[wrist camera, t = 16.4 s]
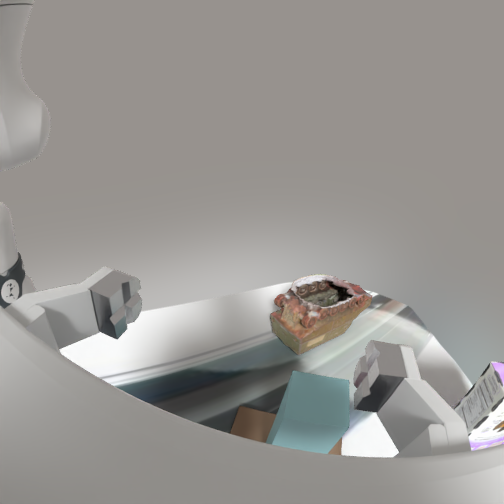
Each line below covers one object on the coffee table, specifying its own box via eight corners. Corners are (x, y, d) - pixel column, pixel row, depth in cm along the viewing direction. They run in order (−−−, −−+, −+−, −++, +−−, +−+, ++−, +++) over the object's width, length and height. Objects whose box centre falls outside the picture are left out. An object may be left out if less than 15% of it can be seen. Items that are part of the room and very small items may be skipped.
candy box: (482, 431, 24) (542, 359, 18) (489, 457, 19) (557, 385, 12) (424, 436, 27) (490, 358, 20) (428, 468, 21) (507, 393, 15)
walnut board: (205, 497, 20) (205, 496, 19) (239, 409, 32) (239, 405, 32) (331, 519, 17) (334, 517, 17) (339, 428, 30) (342, 424, 30)
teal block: (256, 474, 23) (283, 417, 17) (266, 441, 27) (292, 370, 21) (300, 482, 22) (349, 427, 16) (306, 448, 26) (348, 380, 21)
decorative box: (253, 316, 52) (260, 272, 48) (331, 299, 61) (342, 261, 57) (288, 363, 42) (302, 316, 38) (369, 332, 50) (386, 292, 46)
